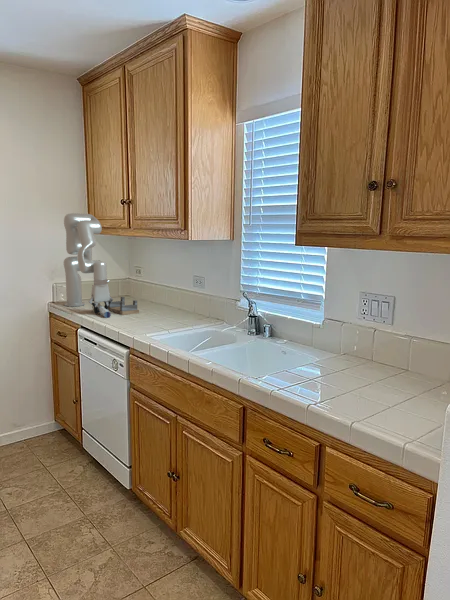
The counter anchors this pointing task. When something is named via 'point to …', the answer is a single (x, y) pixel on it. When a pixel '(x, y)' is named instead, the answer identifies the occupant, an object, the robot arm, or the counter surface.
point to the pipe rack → (123, 307)
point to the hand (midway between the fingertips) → (101, 312)
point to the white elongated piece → (103, 310)
